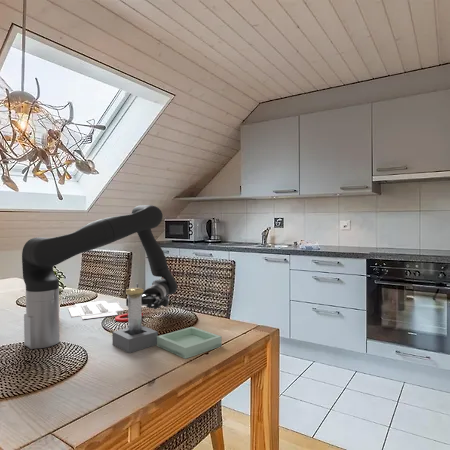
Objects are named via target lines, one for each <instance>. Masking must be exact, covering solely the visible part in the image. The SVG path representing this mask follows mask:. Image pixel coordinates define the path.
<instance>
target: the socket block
mask: <svg viewBox="0 0 450 450" xmlns="http://www.w3.org/2000/svg"><path fill="white" fill-rule="evenodd" d="M157 336H159V331H157V330H155V329H152V328H150V327H148V326H145V325H142V333H140V334H137V335H133V336H131V335H129V334H128V327H126V328H122V329H118V330H114V331H112V336H111V337H112V346H115V347H116V348H119V349H121V350H122V351H124V352H126V353H128V354H131V353H134V352H137V351H141V350H143V349H144V350H145V349H148V348H151V347H154V346H157Z"/></svg>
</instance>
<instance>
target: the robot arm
mask: <svg viewBox="0 0 450 450" xmlns="http://www.w3.org/2000/svg"><path fill="white" fill-rule="evenodd" d="M162 221H163V212H162V210H161V208H159V207H158V206H156V205H152V204H146V205H145V204H143V205H142V204H141V205H137V206H134V207H133V209H132V211H131V213H129V214H122V215H115V216H114V215H113V216H108V217H104V218H100V219H96V220H93V221H91V222H89V223H87V224H85V225H83V226H81V227H80V228H79V229H77V230H75V231H73V232H70V233H67V234H64V235H58V236H53V237H39V236H38V237H33V238H30V239H29V240H27V241H26V242H25V243H24V245H23V246H22V247H23V248H22V251H21V264H22V267H21V268H22V277H23V281H24V284H25V285H24V286H25V311H26V312H25V313H24V314H23V324H24V325H23V329H24V330H23V332H24V335H23V337H24V338H23V340H24V346H26V347H27V348H28V349H29V350H33V349H35V350H36V349H43V348H49V347H53V346H55V345H57V344H59V343H60V336H61V335H60V280H59V278H58V277H57V275H56V274H55V272H54V271H55V270H54V267H55V266H58V265H59V264H61V263H63V262H65V261H67V260H70V259H71V258H74V257H75V256H78V255H79V254H83V253H87V252H89V251H92V250H95V249H99V248H101V247H104V246H107V245H110V244H112V243H114V242H117V241H119V240H122V239H124V238H127V237H129V236H131V235H134V234H136V233H137V235H138V237H139V239H140V242H141V244H142V247H143V250H144V251H145V254H146V258H147V261H148V264H149V268H150V271H151V274H152V276H153V277H160V279H156V280H153V281H152V282H151V285H150V286H149V287H147V288H146V289H144V290H143V294H141V302H142V307H143V306H144V307H146V308H149V309H154V310H157V309H159V308H161V307H162V306H163V307H168V305H169V303H170V295H174V294H175V293H176V292H177V291H178V284H177V281H176V279H175V278H174V276H173V274H172V272H171V271H170V268H169V265H168V263H167V259H166V255H165V253H164V250H163V249H162V247H161V246H160V244H159V243H158V242H157V240H156V238H155V236H154V234H153V232H152V229H155V228H157V227H158V226H159V225H161V223H162ZM125 302H126V307H128V297H127V298H126V301H125Z"/></svg>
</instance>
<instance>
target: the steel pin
mask: <svg viewBox="0 0 450 450" xmlns="http://www.w3.org/2000/svg"><path fill="white" fill-rule="evenodd" d="M143 292H144V288H142V287H138V288H136V287H130V288H126V289H125V294H126V295H127V298H128V306H127V310H128V313H127V314H128V316H127V317H128V321H127V322H128V324H127V325H128V326H127V328H128V334H129V335H131V336H133V335H137V334H140V333H142V326H143V323H142V322H143V321H142V319H143V318H142V317H143V316H142V313H143V312H142V307H143V306H142V302H141V296H142V294H143Z"/></svg>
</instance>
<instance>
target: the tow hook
mask: <svg viewBox="0 0 450 450" xmlns="http://www.w3.org/2000/svg"><path fill="white" fill-rule="evenodd" d="M135 288H139V283H138V282H136V283H135ZM143 316H144V313H143V312H142V317H143ZM125 317H126V318H125ZM127 317H128V313H123V314H118V315H115V318H114V320H115V322H121V323H122V322H128V318H127Z"/></svg>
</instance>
